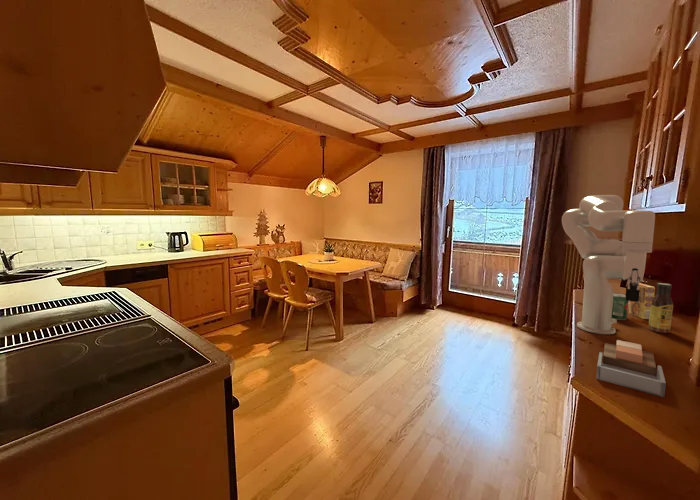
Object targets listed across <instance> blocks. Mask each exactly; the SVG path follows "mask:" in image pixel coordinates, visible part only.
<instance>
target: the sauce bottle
mask: <svg viewBox="0 0 700 500" xmlns="http://www.w3.org/2000/svg"><path fill="white" fill-rule="evenodd" d="M656 287H657V290H656V294H654V297H653V299H652V304H651V309H650V317H649V319H648V329H649V330H650V331H652V332H656V333H663V334H667V333H669V332H670V331H671V326H672V320H673V319H672V317H673V311H674V303H673V299H672V297H671V290H672V288H673V287H672V284H670V283H665V282H664V283H661V282H657V285H656Z"/></svg>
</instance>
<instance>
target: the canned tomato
mask: <svg viewBox="0 0 700 500" xmlns="http://www.w3.org/2000/svg"><path fill="white" fill-rule="evenodd" d="M628 304H629V301H627V300H626V293H625V294H624V293H619V292H614V293H613V305H612V318H611V319H616V320H618V321H626V320H627V319H628V318H627V317H628V308H629V305H628Z"/></svg>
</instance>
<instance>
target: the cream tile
mask: <svg viewBox="0 0 700 500" xmlns="http://www.w3.org/2000/svg"><path fill="white" fill-rule="evenodd" d="M615 345H616V346H617V345H619V346H624V347H628V348H633V349H638V350H642V349H643V348H642V344H640V343H634V342H629V341H624V340H620V339H616V344H615ZM642 351H643V350H642Z"/></svg>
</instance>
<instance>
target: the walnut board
mask: <svg viewBox="0 0 700 500" xmlns="http://www.w3.org/2000/svg"><path fill="white" fill-rule="evenodd" d="M642 355H643V358H642V364H641V363H637V362H633V361H628V360H624V359H619V358H616V344H612V343H607V342H605V343H604V347H603V355H602V363H604V364H608V365H612V366H616V367H620V368H624V369H628V370H633V371H637V372H641V373H645V374H649V375H653V376H656V375H657V366H656V360H655V357H654V353H653V352H651V351H646V350H642Z"/></svg>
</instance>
